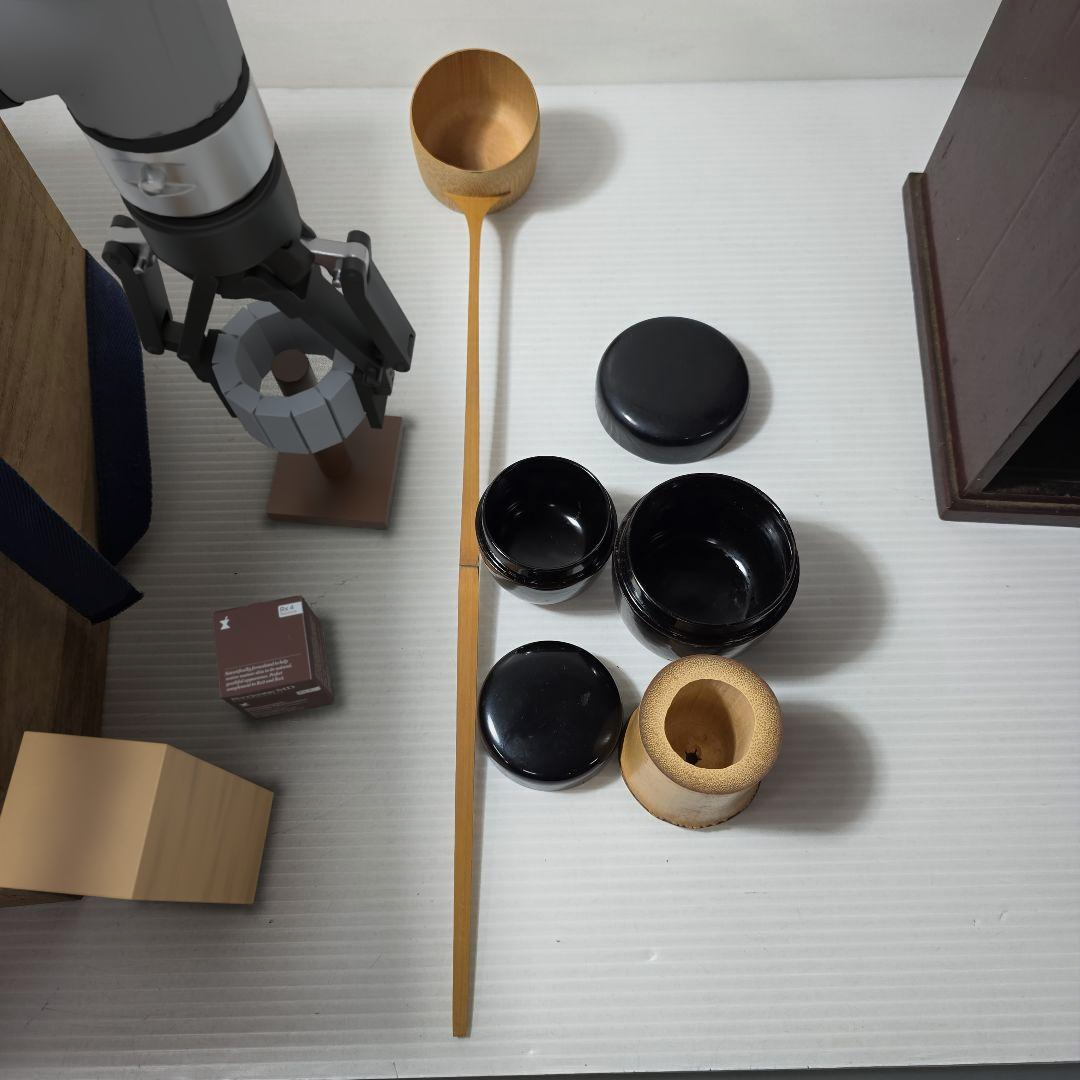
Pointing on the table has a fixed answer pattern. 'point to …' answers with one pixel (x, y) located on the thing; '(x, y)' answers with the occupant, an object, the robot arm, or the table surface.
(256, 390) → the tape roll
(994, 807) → the table surface
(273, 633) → the box
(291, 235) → the robot arm
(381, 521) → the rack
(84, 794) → the stand
